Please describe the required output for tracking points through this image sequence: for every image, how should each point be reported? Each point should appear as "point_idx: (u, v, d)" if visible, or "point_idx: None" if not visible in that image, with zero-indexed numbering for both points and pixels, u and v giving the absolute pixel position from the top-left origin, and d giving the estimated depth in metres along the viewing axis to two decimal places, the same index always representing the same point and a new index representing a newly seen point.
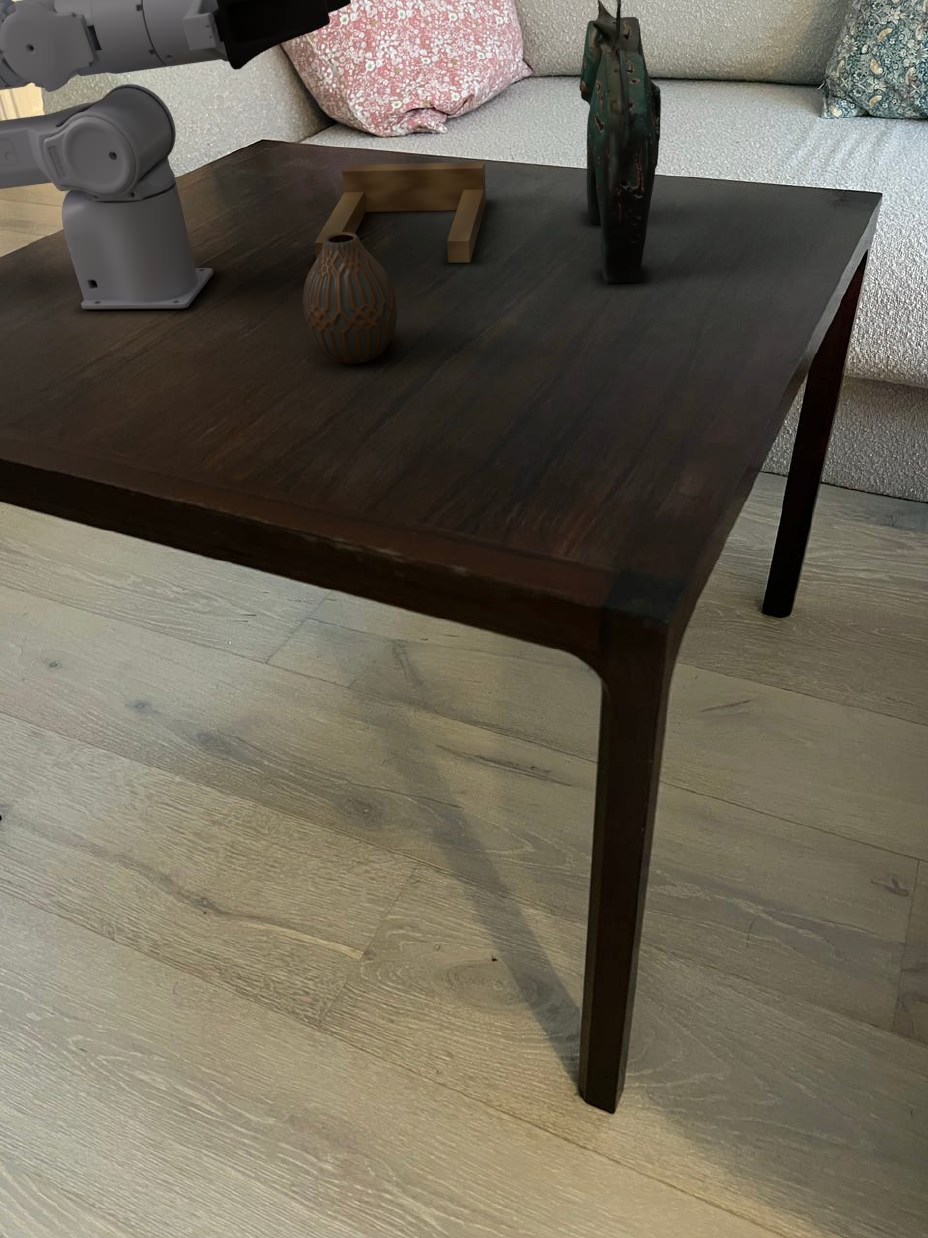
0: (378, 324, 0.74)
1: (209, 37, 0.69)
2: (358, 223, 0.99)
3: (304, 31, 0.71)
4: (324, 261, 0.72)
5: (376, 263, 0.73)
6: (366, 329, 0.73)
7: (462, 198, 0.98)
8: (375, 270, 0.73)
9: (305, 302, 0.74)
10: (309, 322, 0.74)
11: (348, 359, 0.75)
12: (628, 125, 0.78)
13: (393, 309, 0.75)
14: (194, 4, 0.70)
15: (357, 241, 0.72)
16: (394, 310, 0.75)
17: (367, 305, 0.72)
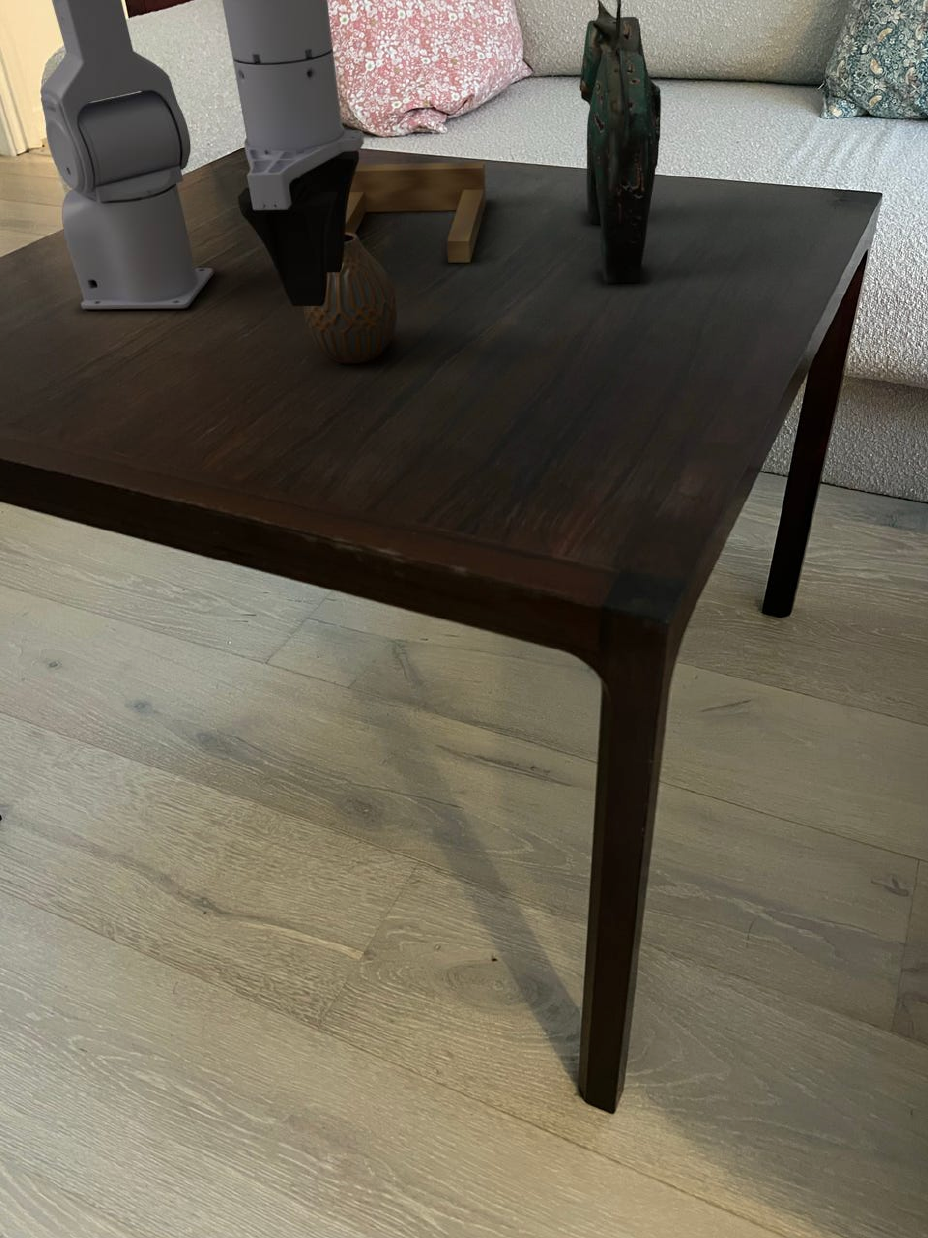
0: (378, 324, 0.74)
1: (263, 204, 0.56)
2: (358, 223, 0.99)
3: (283, 280, 0.63)
4: None
5: (376, 263, 0.73)
6: (366, 329, 0.73)
7: (462, 198, 0.98)
8: (375, 270, 0.73)
9: None
10: (309, 322, 0.74)
11: (348, 359, 0.75)
12: (628, 125, 0.78)
13: (393, 309, 0.75)
14: (299, 166, 0.57)
15: (357, 241, 0.72)
16: (394, 310, 0.75)
17: (367, 305, 0.72)
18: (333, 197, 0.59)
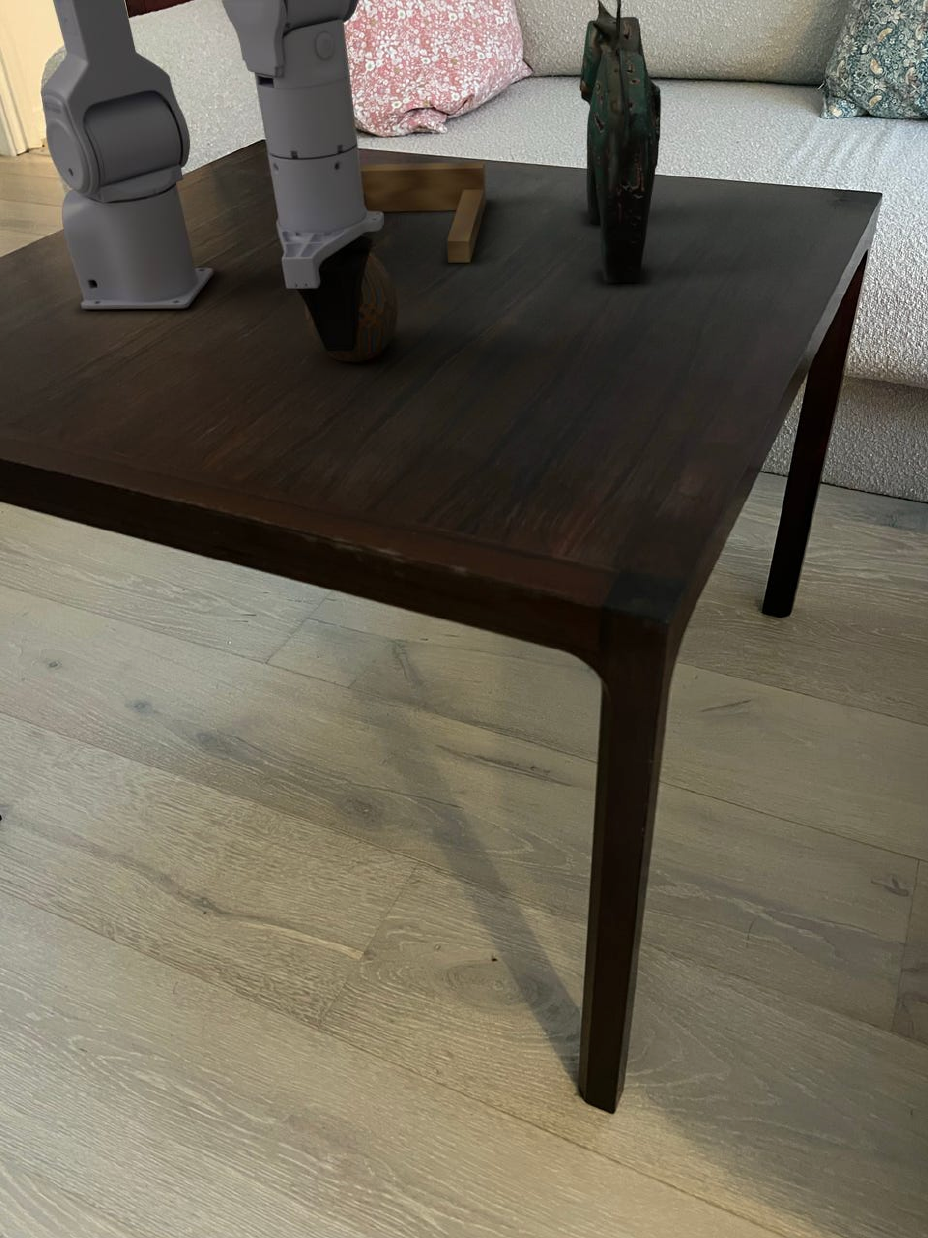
0: (379, 322, 0.74)
1: (295, 283, 0.62)
2: None
3: (318, 329, 0.71)
4: None
5: (377, 261, 0.73)
6: (367, 327, 0.73)
7: (462, 198, 0.98)
8: (376, 268, 0.73)
9: None
10: (310, 320, 0.74)
11: (349, 357, 0.76)
12: (628, 125, 0.78)
13: (394, 307, 0.75)
14: (328, 249, 0.63)
15: None
16: (395, 308, 0.75)
17: (368, 303, 0.73)
18: (364, 259, 0.67)
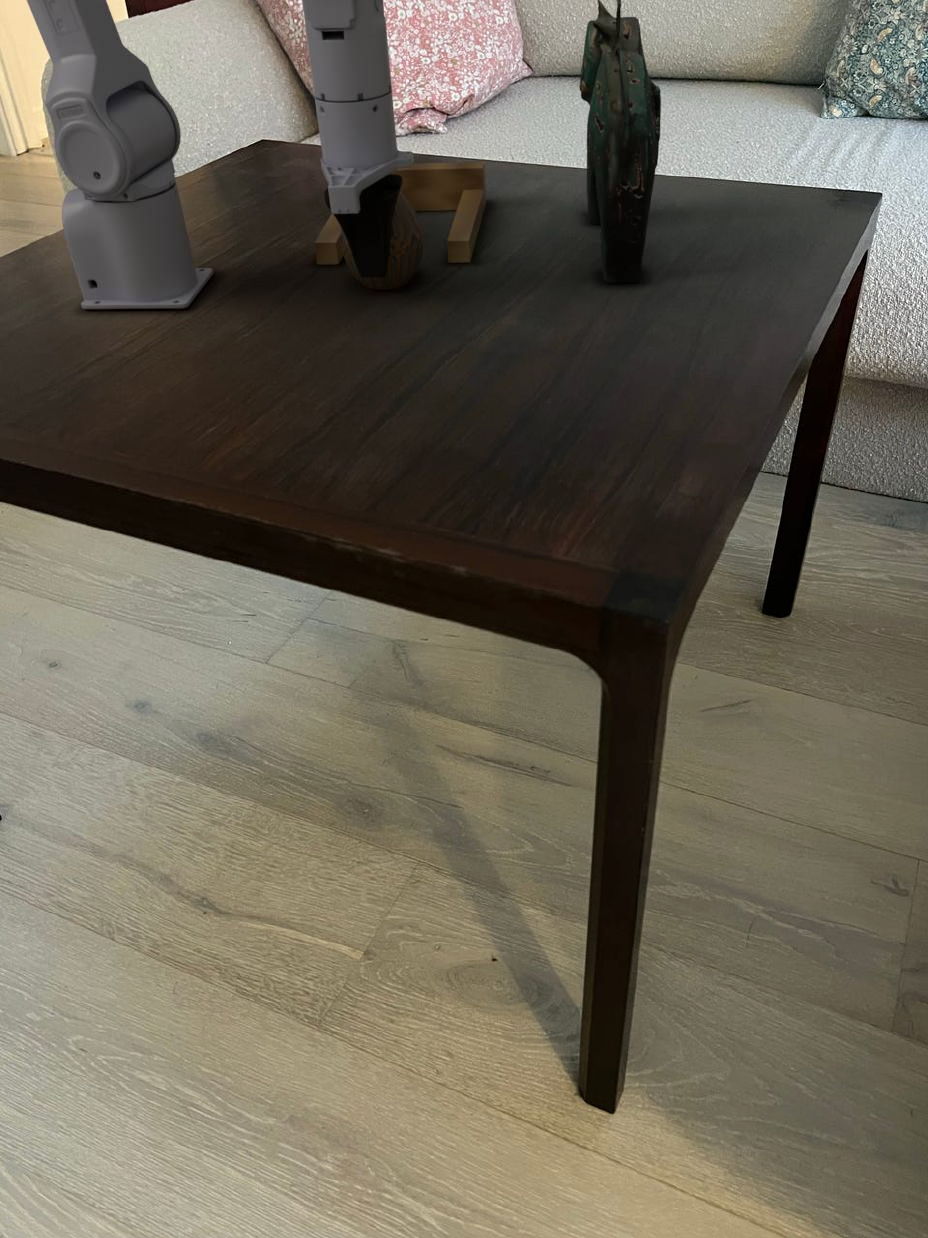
0: (407, 253, 0.84)
1: (339, 209, 0.73)
2: None
3: (354, 257, 0.82)
4: None
5: (405, 199, 0.84)
6: (397, 257, 0.84)
7: (462, 198, 0.98)
8: (405, 205, 0.83)
9: (343, 233, 0.84)
10: (346, 251, 0.85)
11: (380, 285, 0.86)
12: (628, 125, 0.78)
13: (420, 240, 0.85)
14: (367, 180, 0.74)
15: None
16: (421, 242, 0.85)
17: (398, 235, 0.83)
18: (396, 193, 0.78)
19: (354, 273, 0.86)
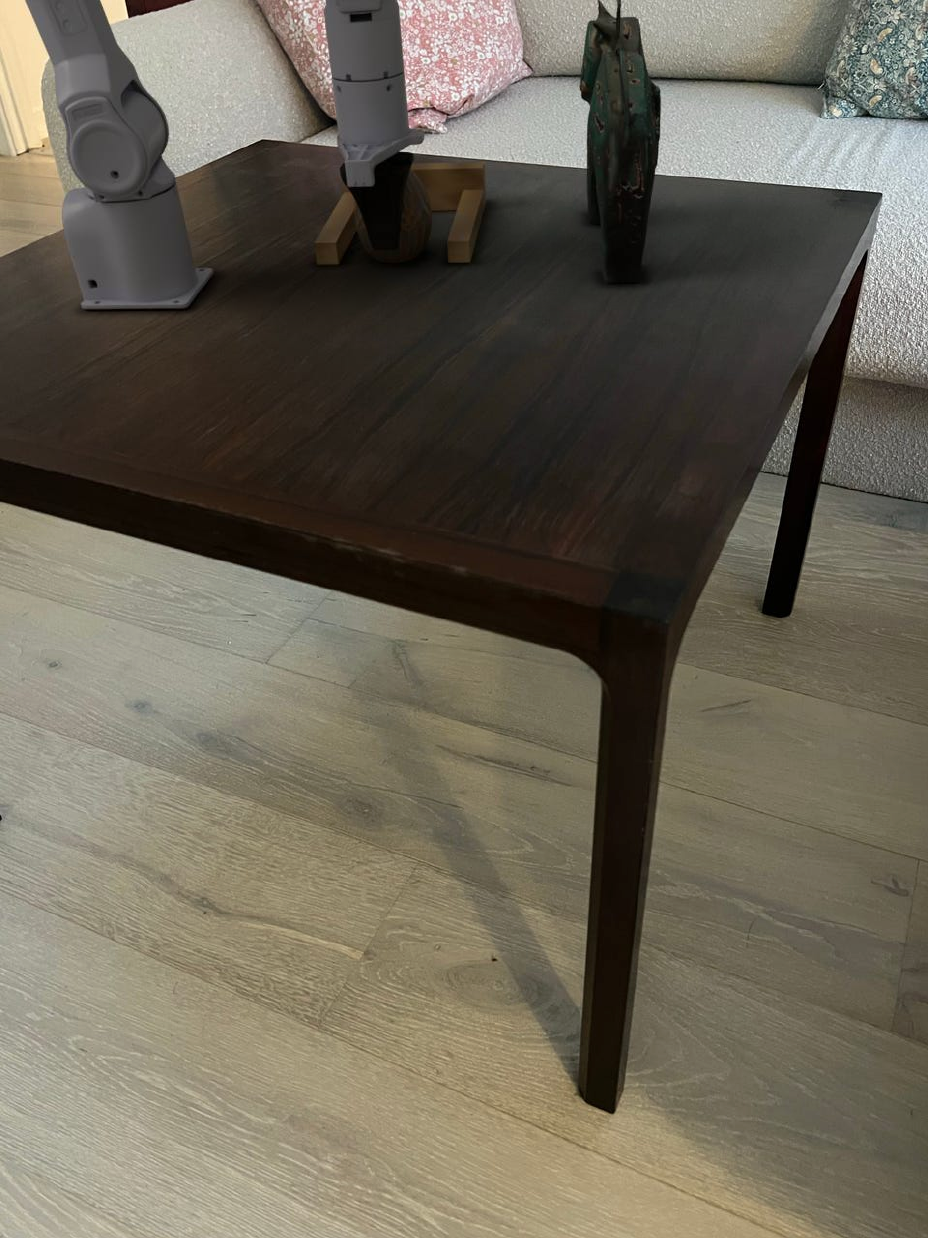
0: (417, 227, 0.89)
1: (355, 182, 0.77)
2: None
3: (368, 230, 0.86)
4: None
5: (416, 176, 0.88)
6: (408, 231, 0.88)
7: (462, 198, 0.98)
8: (415, 181, 0.88)
9: (357, 209, 0.89)
10: (360, 226, 0.89)
11: (391, 258, 0.91)
12: (628, 125, 0.78)
13: (429, 215, 0.90)
14: (381, 155, 0.78)
15: None
16: (430, 217, 0.90)
17: (408, 210, 0.88)
18: (408, 168, 0.82)
19: (367, 247, 0.90)
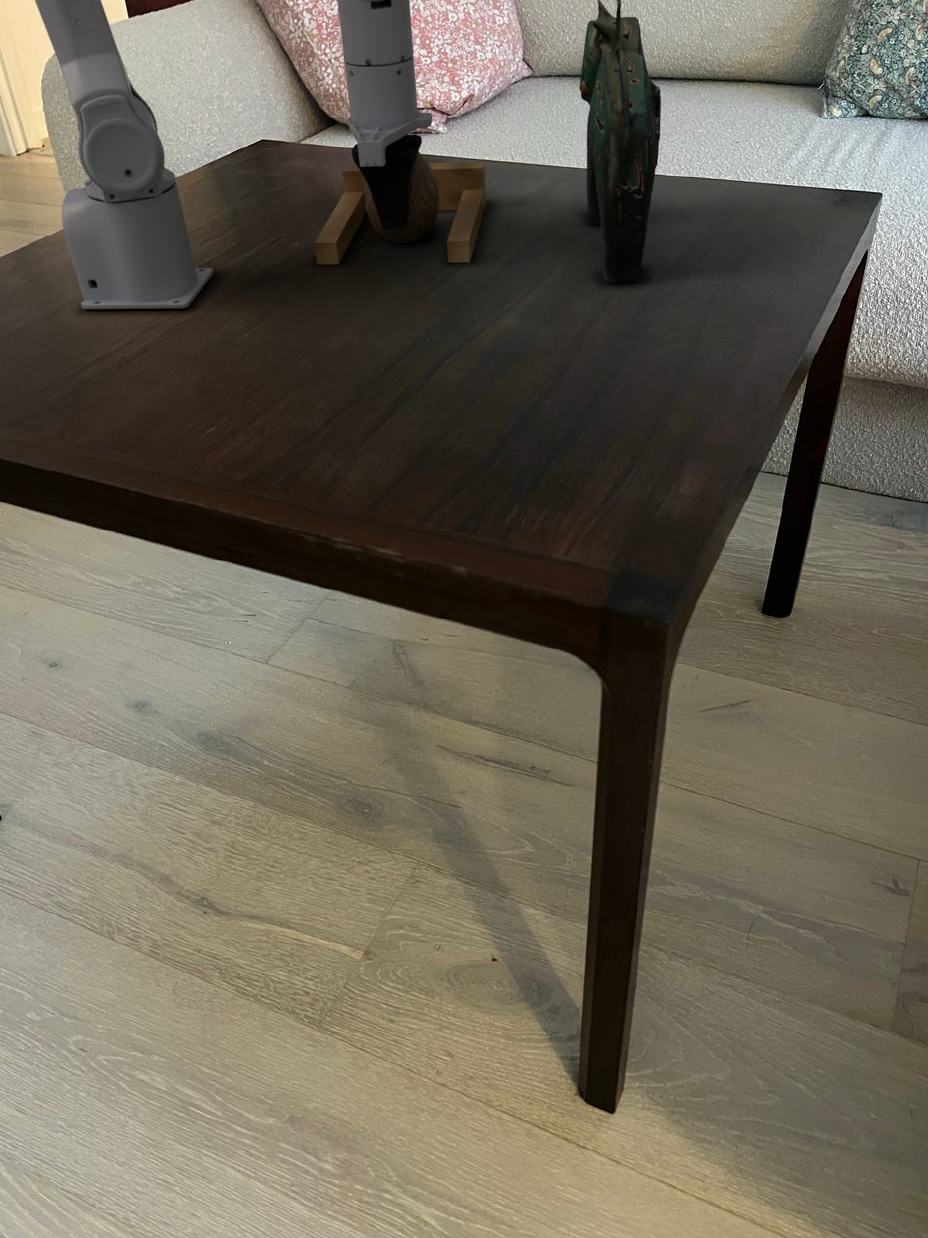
0: (425, 207, 0.93)
1: (367, 162, 0.81)
2: (358, 223, 0.99)
3: (378, 210, 0.90)
4: None
5: (424, 159, 0.92)
6: (416, 211, 0.92)
7: (462, 198, 0.98)
8: (423, 163, 0.92)
9: (367, 190, 0.93)
10: (370, 206, 0.93)
11: (400, 238, 0.94)
12: (628, 125, 0.78)
13: (437, 197, 0.94)
14: (391, 136, 0.82)
15: None
16: (437, 198, 0.94)
17: (417, 191, 0.91)
18: (417, 150, 0.86)
19: (376, 227, 0.94)
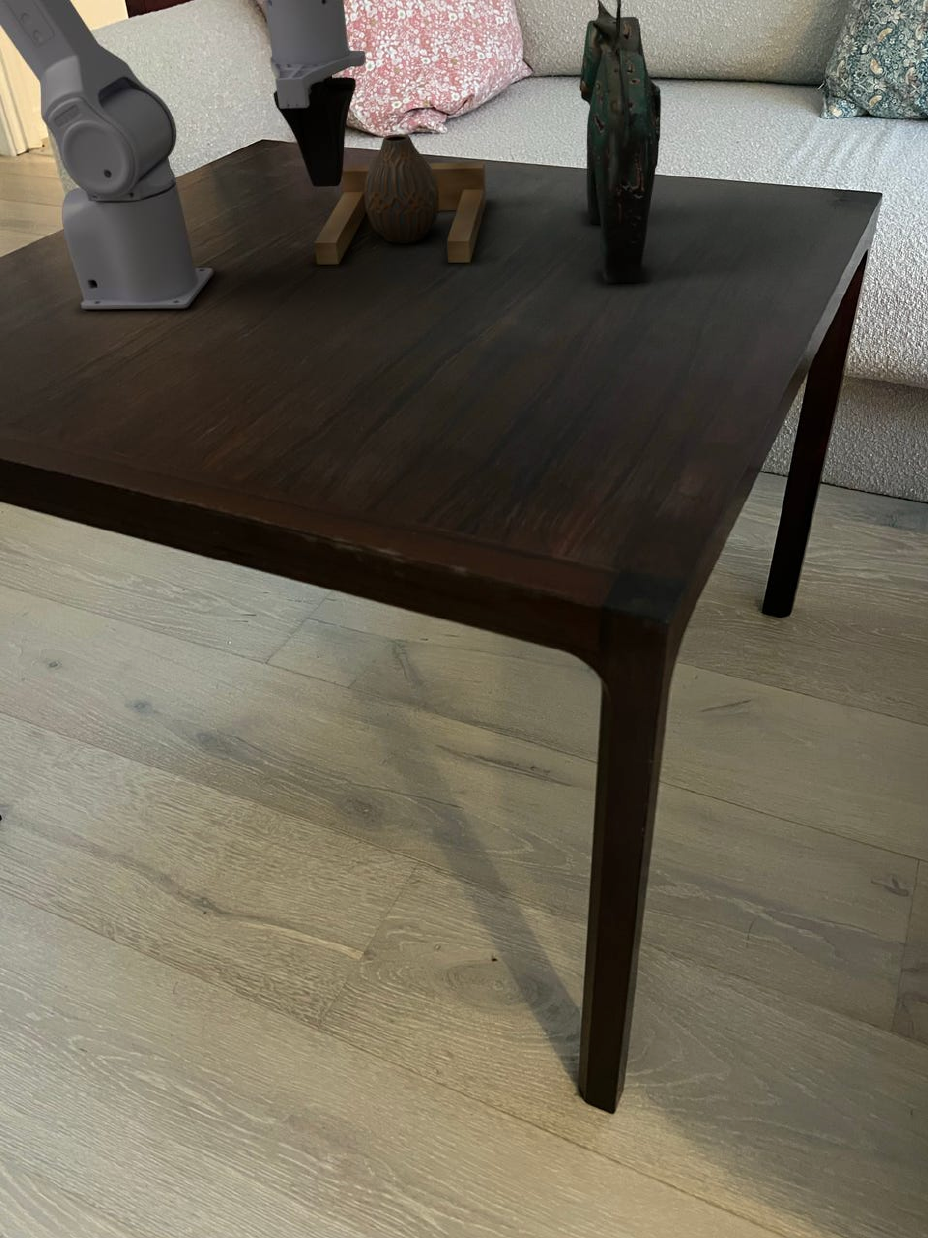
0: (425, 208, 0.93)
1: (287, 103, 0.71)
2: (358, 223, 0.99)
3: (307, 164, 0.80)
4: (383, 156, 0.91)
5: (423, 159, 0.92)
6: (416, 211, 0.92)
7: (462, 198, 0.98)
8: (423, 164, 0.92)
9: (367, 190, 0.93)
10: (370, 207, 0.93)
11: (400, 238, 0.94)
12: (628, 125, 0.78)
13: (436, 197, 0.94)
14: (316, 74, 0.72)
15: (409, 140, 0.91)
16: (437, 198, 0.94)
17: (416, 191, 0.91)
18: (348, 93, 0.76)
19: (376, 227, 0.94)
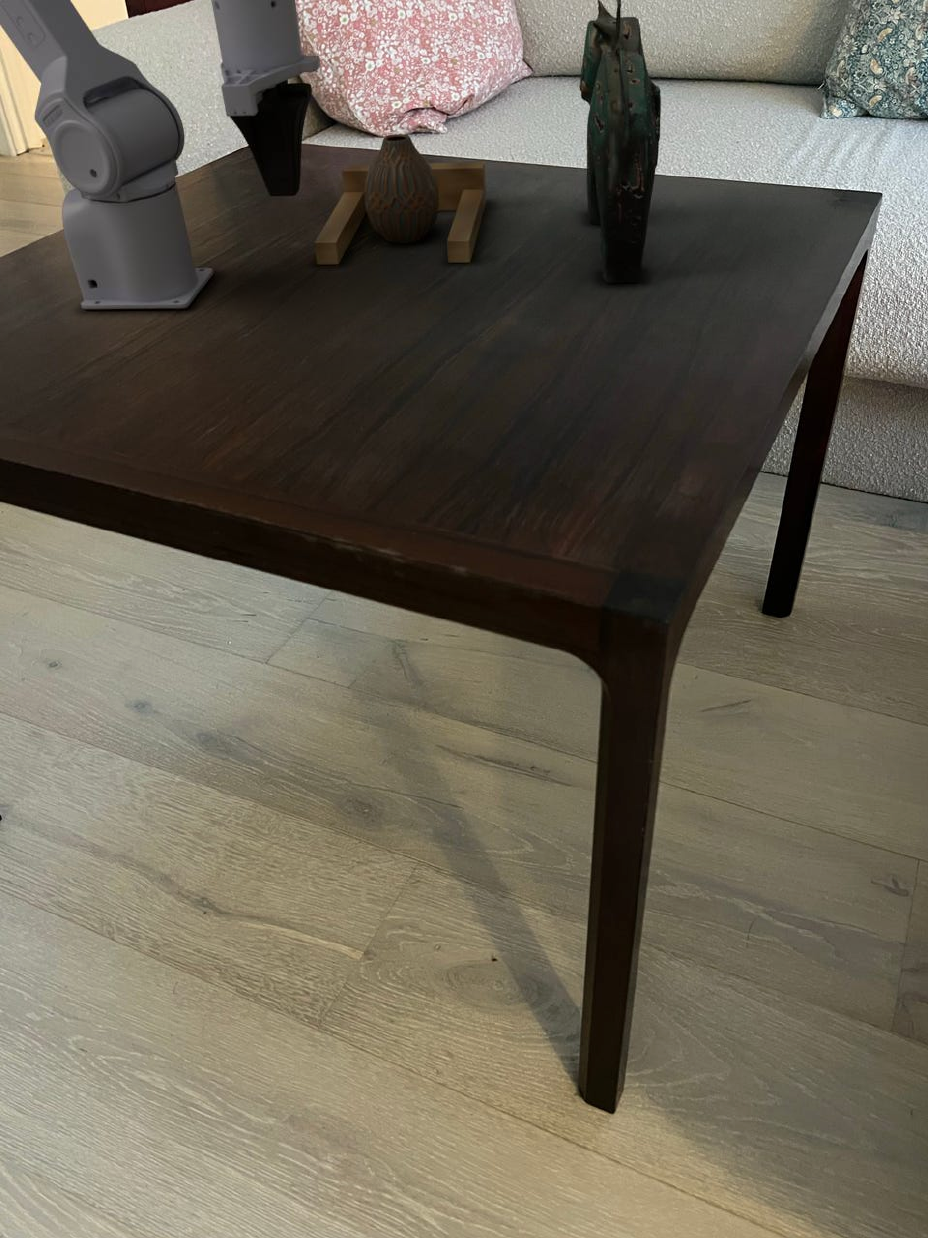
0: (425, 208, 0.93)
1: (234, 111, 0.68)
2: (358, 223, 0.99)
3: (262, 173, 0.77)
4: (383, 156, 0.91)
5: (424, 159, 0.92)
6: (416, 212, 0.92)
7: (462, 198, 0.98)
8: (423, 164, 0.92)
9: (367, 190, 0.93)
10: (370, 207, 0.93)
11: (400, 238, 0.94)
12: (628, 125, 0.78)
13: (436, 197, 0.94)
14: (265, 81, 0.69)
15: (409, 140, 0.91)
16: (437, 198, 0.94)
17: (417, 192, 0.91)
18: (301, 100, 0.73)
19: (376, 227, 0.94)
